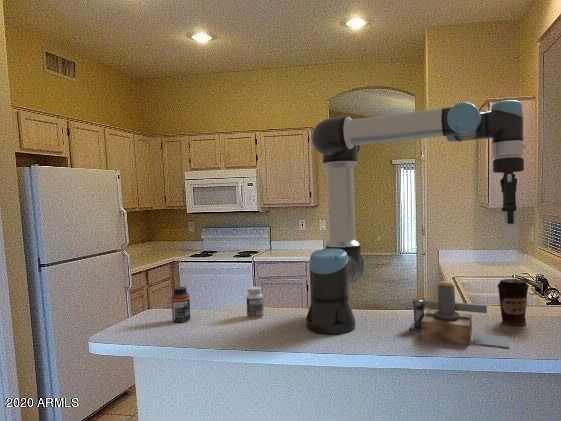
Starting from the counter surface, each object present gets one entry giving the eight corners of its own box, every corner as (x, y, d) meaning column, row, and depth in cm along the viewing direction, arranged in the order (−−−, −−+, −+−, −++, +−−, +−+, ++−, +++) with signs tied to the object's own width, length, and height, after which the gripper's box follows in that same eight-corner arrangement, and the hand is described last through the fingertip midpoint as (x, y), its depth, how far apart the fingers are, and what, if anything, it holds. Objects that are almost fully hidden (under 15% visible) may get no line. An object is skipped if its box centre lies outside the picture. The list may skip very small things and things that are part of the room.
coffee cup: (535, 328, 116) (534, 283, 116) (504, 327, 118) (503, 283, 118) (523, 319, 125) (522, 277, 125) (494, 318, 127) (493, 277, 127)
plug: (433, 337, 112) (432, 283, 111) (436, 330, 117) (435, 279, 117) (458, 340, 108) (457, 285, 108) (460, 333, 114) (459, 280, 114)
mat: (474, 344, 105) (474, 342, 105) (475, 334, 112) (475, 333, 112) (509, 348, 101) (509, 346, 101) (508, 338, 108) (508, 337, 108)
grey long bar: (411, 307, 119) (411, 300, 119) (413, 304, 122) (413, 298, 122) (486, 314, 109) (486, 307, 109) (486, 311, 112) (486, 304, 112)
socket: (421, 339, 110) (421, 320, 110) (427, 326, 121) (427, 310, 121) (469, 344, 105) (469, 325, 105) (471, 331, 115) (471, 314, 115)
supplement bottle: (177, 318, 139) (176, 285, 139) (193, 318, 138) (192, 285, 138) (169, 323, 133) (168, 289, 133) (185, 323, 132) (184, 289, 132)
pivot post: (409, 329, 118) (408, 308, 118) (412, 325, 123) (411, 304, 123) (427, 332, 116) (426, 310, 116) (429, 327, 120) (428, 306, 120)
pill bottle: (248, 314, 141) (247, 286, 141) (264, 314, 140) (263, 286, 140) (245, 319, 135) (244, 289, 135) (262, 319, 135) (261, 289, 134)
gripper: (527, 152, 99) (529, 238, 99) (520, 160, 121) (522, 230, 121) (492, 154, 102) (494, 237, 103) (492, 162, 124) (494, 230, 125)
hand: (509, 234), depth 112 cm, fingers open, 13 cm apart
